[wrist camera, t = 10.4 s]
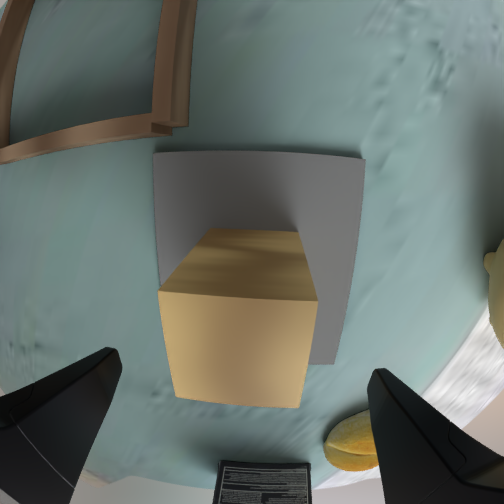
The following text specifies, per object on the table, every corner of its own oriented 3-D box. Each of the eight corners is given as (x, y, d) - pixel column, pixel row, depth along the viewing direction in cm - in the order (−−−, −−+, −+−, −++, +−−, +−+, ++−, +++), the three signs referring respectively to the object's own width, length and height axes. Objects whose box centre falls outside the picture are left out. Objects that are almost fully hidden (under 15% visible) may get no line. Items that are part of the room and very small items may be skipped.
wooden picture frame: (3, 164, 16) (-21, 169, 13) (31, -5, 10) (13, -12, 7) (188, 134, 15) (170, 130, 12) (208, -71, 9) (200, -92, 6)
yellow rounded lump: (417, 400, 21) (429, 430, 17) (379, 449, 24) (385, 475, 20) (342, 402, 21) (349, 437, 17) (312, 451, 24) (314, 481, 20)
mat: (172, 349, 20) (170, 353, 20) (156, 153, 15) (152, 153, 15) (333, 360, 19) (333, 364, 19) (362, 159, 15) (365, 159, 14)
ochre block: (212, 304, 18) (175, 396, 10) (210, 228, 16) (157, 290, 9) (291, 309, 17) (298, 407, 10) (298, 232, 16) (318, 301, 8)
